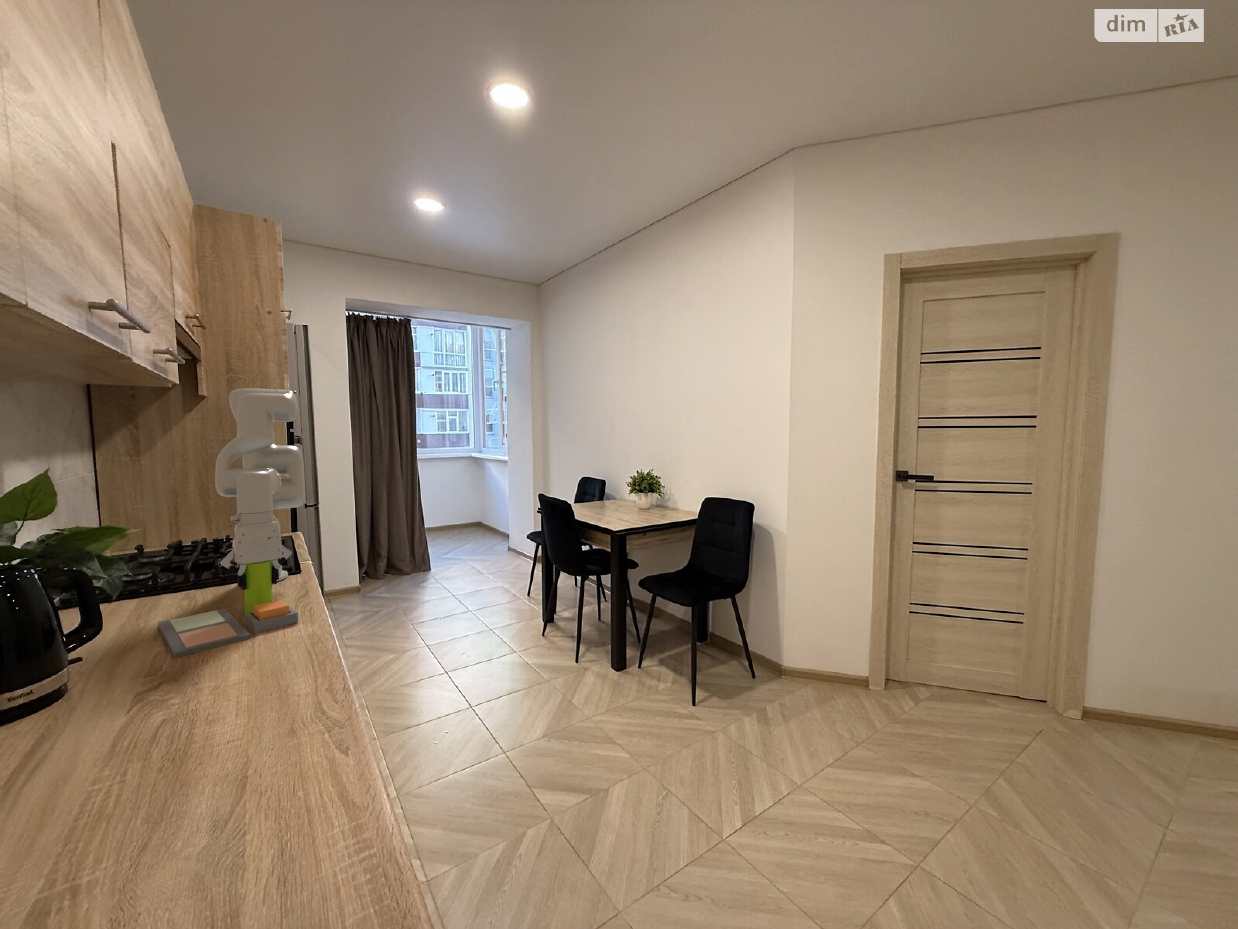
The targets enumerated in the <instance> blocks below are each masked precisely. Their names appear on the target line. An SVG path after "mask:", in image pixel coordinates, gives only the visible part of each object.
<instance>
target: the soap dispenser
mask: <svg viewBox="0 0 1238 929" xmlns="http://www.w3.org/2000/svg"><path fill="white" fill-rule="evenodd" d="M271 538H274V537H267V539H268V540H270V539H271ZM244 574H245V575H246V584H247V589H246V590H243V591H244V592H243V593H244V595H243V596H244V600H243V601H244V603H243V604H244V613H248V612H252V611H253V606H255V605H260V604H265V603H269V602H273V590H272V589H273V583H272V562H271V561H265V562H259V563H253V564H247V566H246V568H245V571H244Z"/></svg>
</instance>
